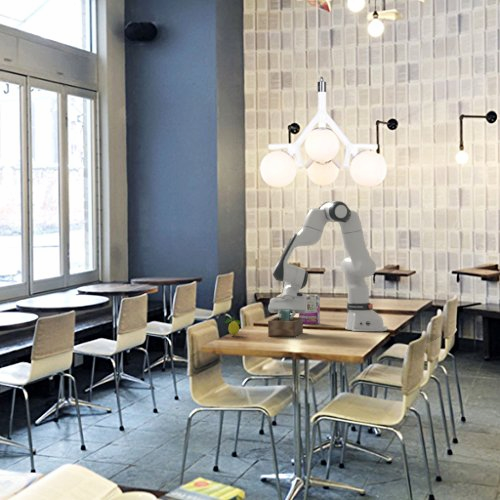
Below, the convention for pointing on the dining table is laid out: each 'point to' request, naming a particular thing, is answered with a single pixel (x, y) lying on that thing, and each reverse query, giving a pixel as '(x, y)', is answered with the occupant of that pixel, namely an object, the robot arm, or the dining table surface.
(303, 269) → the robot arm
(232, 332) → the lemon
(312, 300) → the candy bar box
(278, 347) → the dining table surface
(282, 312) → the peg
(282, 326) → the walnut box
